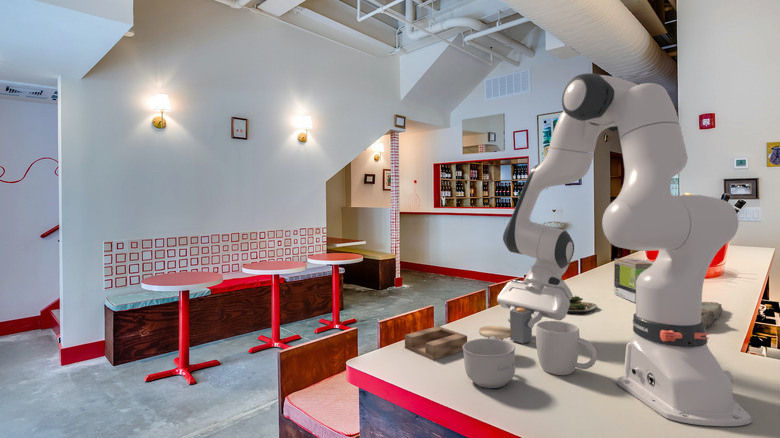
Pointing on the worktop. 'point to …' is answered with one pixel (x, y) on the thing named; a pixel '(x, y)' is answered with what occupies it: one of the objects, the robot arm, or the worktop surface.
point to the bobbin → (495, 332)
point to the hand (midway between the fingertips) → (519, 324)
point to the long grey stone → (710, 312)
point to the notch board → (435, 342)
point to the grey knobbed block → (520, 325)
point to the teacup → (489, 361)
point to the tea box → (628, 276)
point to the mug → (561, 347)
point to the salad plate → (580, 306)
